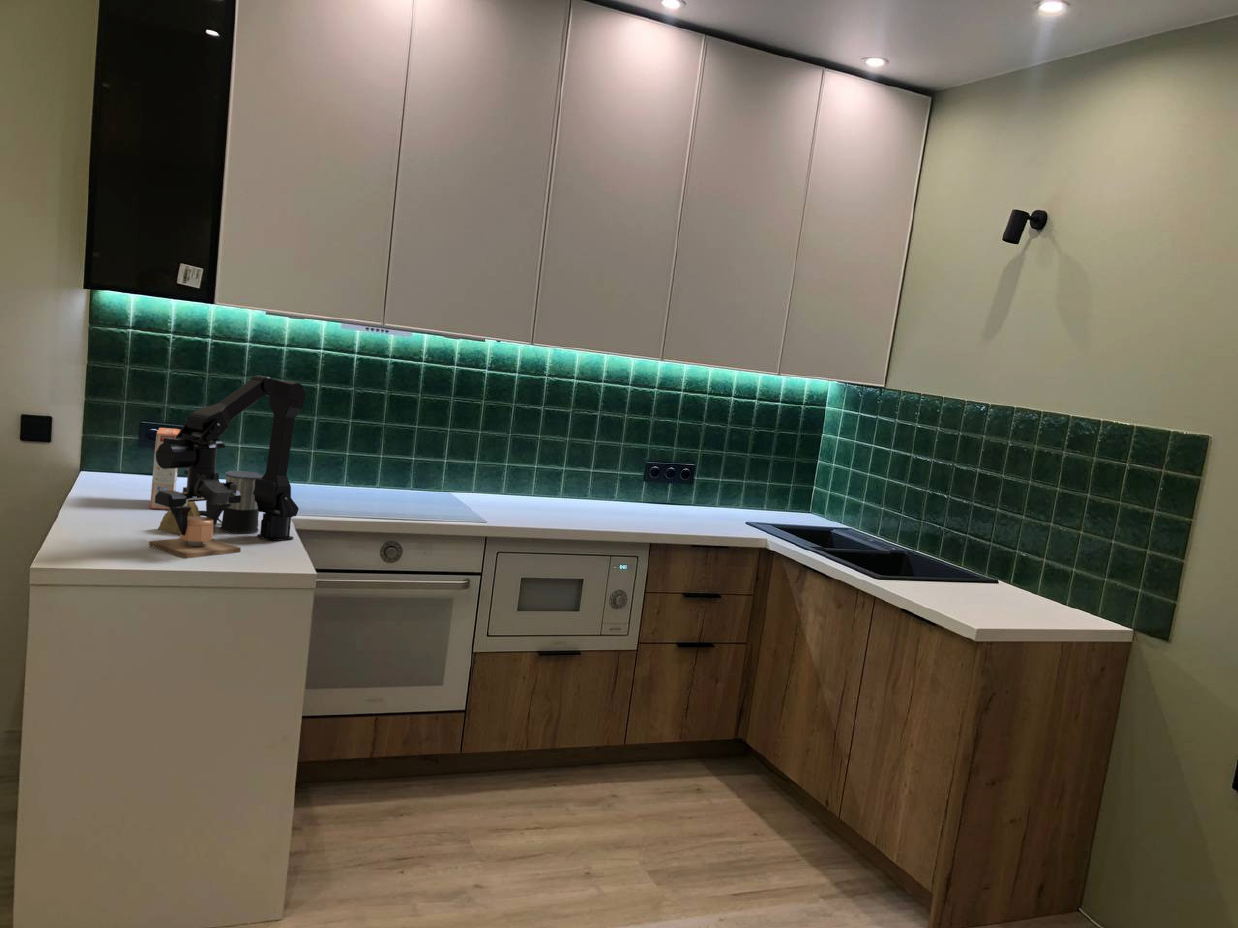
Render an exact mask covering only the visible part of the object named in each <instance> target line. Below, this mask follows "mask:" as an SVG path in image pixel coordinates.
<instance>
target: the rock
mask: <svg viewBox="0 0 1238 928" xmlns="http://www.w3.org/2000/svg"><path fill="white" fill-rule="evenodd" d="M181 493H184V494H186V492H183V491H182V492H181ZM188 507H191V510H190V511H189V512H188V517H189V516H200V514H199V511H200V510H199V507H198V505H197V504H196V501H191V502H188ZM200 517H202V516H200ZM157 530H161V531H164V532H166V531H167V533H171V532H172V534H177V533H178V534H179V535H180V530H179V527H178V525H177V522H176V520H175V517H174V515H173V514H172V512H171V510H170V509H169V510H167V512H166V513H165V514H164V515H163V517H162V519H161V521H160V523H159V526H158V528H157Z"/></svg>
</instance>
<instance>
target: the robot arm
mask: <svg viewBox="0 0 1238 928" xmlns="http://www.w3.org/2000/svg"><path fill="white" fill-rule="evenodd" d="M306 394H307V391H306V389H305V388H304V386H303V385H302V384H301V383H299V382H294V381H288V380H281V379H280V380H276V379H274V378H271V377H270V376H266V375H264V376H263V375H254V376H252V377H251V378H250V380H249V381H247V382H246V383H245V384H243V385H242V386H240V387H239V388H238V389H236V390H234V391H233V392H232V393H230V394H229V395H228V396H226V397H225V398H223V399H221V401H219V402H217V403H215V404H212V405H208V406H204V407H201V408H200V409H197V410H194V411H193V412H191V413H190V414H189V415H188V417H187V421H186V422H185V424H184V425H183V426H182V427H181V429H179V430H180V432H179V433H178V435H177V436H176V439H172V438H164V441H163V444H161V445H160V446H159V447H158V450H157V451H156V461H157V463H158V465H159V466H160V467H161V468H163V469H173V468H178V469H184V470H183V471H184V473H183V474H184V475H186V476H187V477H186V478H187V479H186V486H185V487H182V492H186V494H184V493H182V492H180V491H173V490H168V491H159V492H158V493H157V494H156V496H155V503H157V504H160V505H164V506H167V507H169V508H170V510H171V512H172V514H173V515H174V517H175V520H176V522H177V525H178V527H179V530H180V532H181V534H182V535H185V534H186V529H187V518H188V512H189V511H190V510H191V507H188V502H191V501H195V502H203V501H205V511H206V516H205V517H208V518H212V519H213V523H214V528H213V530H214V529H215V526H216V525H217V523H218V518H219V519H220V516H221V514H223V510H225V509H226V508H227V507H230V506H231V504H228V502H229V503H240V502H241V494H240V492H239V491H238V490H237V484H236V483H235V482H226V481H225V482H221V481H220V475H219V472H216V463H217V462H216V461H217V453H218V452H217V451H218V449H225V447H226V444H224V443H223V442H222V441H221V440H220V438H221V436H223V434H224V433H225V432H226V431H227V430H228V429H229V427H230V425H231V421H232V420H233V419H234V418H236V417H238V415H240V414H241V413H243V412H244V411H245V410H247V409H248V408H250V407H251V406H252V405H254V404H255V403H256V402H258V401H259V400H260V399H262V398H263V397H265V396H268V401H269V402H268V403H269V406H270V408H271V412H272V414H273V420H272V428H271V434H270V440H269V447H268V455H267V461H266V467H265V472H264V474H262V475H263V477H262V478H261V479H258V478H257V479H256V481H255V489H254V492H253V494H254V495H255V502H257V506H258V511H259V513H262V519H261V521H260V530H259V531H260V532H259V533H256V537H259V538H261V539H264V540H268V541H272V542H276V541H286V540H287V541H288V540H294V536H291V535H290V533H291V522H292V518H293V517H297V515H298V512H299V509H300V508H299V506H298V505H297V504H296V502H295V501H294V500H293V498H292V486H291V483H290V481H289V478H288V468H289V461H290V460H289V459H290V453H291V445H292V439H293V433H294V426H295V425H294V424H295V419H296V418H297V416H298V415H299V414H300V412H301V411H302V410H303V406H304V403H305V400H306ZM216 522H217V523H216ZM215 524H216V525H215Z"/></svg>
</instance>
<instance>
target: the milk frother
mask: <svg viewBox="0 0 1238 928" xmlns="http://www.w3.org/2000/svg"><path fill="white" fill-rule="evenodd" d="M224 474H225V476H226V477H225V483H226V482H235V483H236V484H237V490H238V491H239V492H240V494H241V502H240V503H229V502H228V504H231V506H230V507H227V508H226V509H225V510H223V511H222V520H221V519H220V517H219V518H218V520H217V522H216V524H215V526H216V525H217V523H218V522H219V523H221V526H220V527H219V529H220V530H221V531H222V532H226V533H230V534H239V535H240V534H242V535H244V534H247V535H248V534H255V533H256V534H257V533H258V532H259V515H260V514H259V513H260V512H259V511H258V506H257V502H255V495H254V494H253V492H254V489H255V481H256V479H257V478H258V479H261V478H262V477H263V475H264V474H261V473H258V472H254V471H253V472H252V471H242V470H230V471H226V472H225V473H224ZM199 514H200V516H201V517H206V510H199Z"/></svg>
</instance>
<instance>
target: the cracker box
mask: <svg viewBox="0 0 1238 928" xmlns="http://www.w3.org/2000/svg"><path fill="white" fill-rule="evenodd" d="M180 430H181V429H179V428H169V427H168V428H167V427H159V428H158V430H157V432H156V436H155V446H154V455H153V469H152V479H151V480H152V481H151V482H152V483H151V489H150V491H151V493H150V501H149V504H150V505H149V509H152V510H167V511H169V509H170V508H169V507H167V506H164V505H160V504H157V503H155V496H156V494H157V493H158V492H159V491H168V490H173V491H176V489H177V481H178V469H179V468H173V469H163V468H161V467H160V466H159V465H158V463H157V461H156V451H157V450H158V447H159V446H160V445H161V444H163V441H164V438H172V439H176V436H177V435H178V433H179V432H180Z"/></svg>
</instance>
